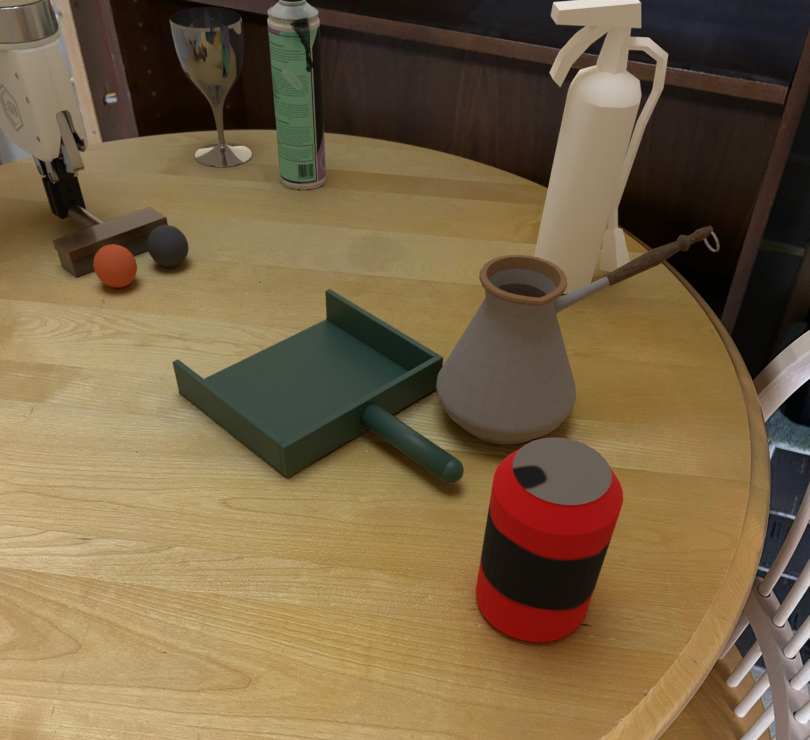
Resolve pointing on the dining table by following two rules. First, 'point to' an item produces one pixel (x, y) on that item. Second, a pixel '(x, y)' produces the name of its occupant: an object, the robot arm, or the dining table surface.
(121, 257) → the terracotta ball
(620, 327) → the dining table surface
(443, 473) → the dustpan
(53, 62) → the robot arm
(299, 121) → the spray can
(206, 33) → the wine glass
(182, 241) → the grey ball
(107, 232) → the brush
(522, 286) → the coffee pot
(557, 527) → the soda can
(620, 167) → the fire extinguisher
